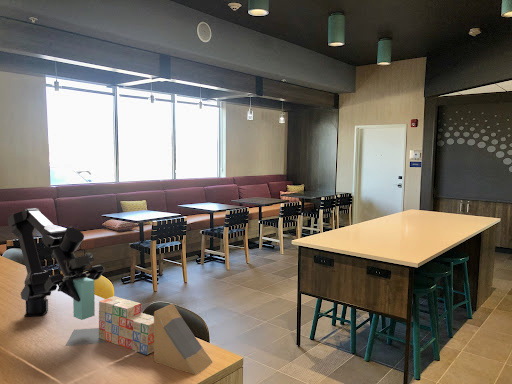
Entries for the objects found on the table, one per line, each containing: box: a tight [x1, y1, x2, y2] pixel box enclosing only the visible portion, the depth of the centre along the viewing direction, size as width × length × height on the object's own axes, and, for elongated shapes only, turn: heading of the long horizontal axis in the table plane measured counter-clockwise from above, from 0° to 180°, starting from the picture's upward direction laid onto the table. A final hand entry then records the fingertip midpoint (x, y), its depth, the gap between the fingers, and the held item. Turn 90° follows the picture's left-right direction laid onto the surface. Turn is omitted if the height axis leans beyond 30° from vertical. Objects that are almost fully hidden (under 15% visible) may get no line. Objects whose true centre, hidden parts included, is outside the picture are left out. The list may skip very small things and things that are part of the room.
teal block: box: [72, 278, 96, 321], centre depth 130 cm, size 5×5×12 cm
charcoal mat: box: [65, 327, 108, 347], centre depth 129 cm, size 12×12×1 cm
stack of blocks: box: [98, 295, 154, 356], centre depth 125 cm, size 21×6×12 cm, turn 61°
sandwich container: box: [153, 303, 214, 376], centre depth 114 cm, size 9×15×15 cm, turn 63°
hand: (86, 299), depth 129 cm, fingers closed on teal block, 5 cm apart
